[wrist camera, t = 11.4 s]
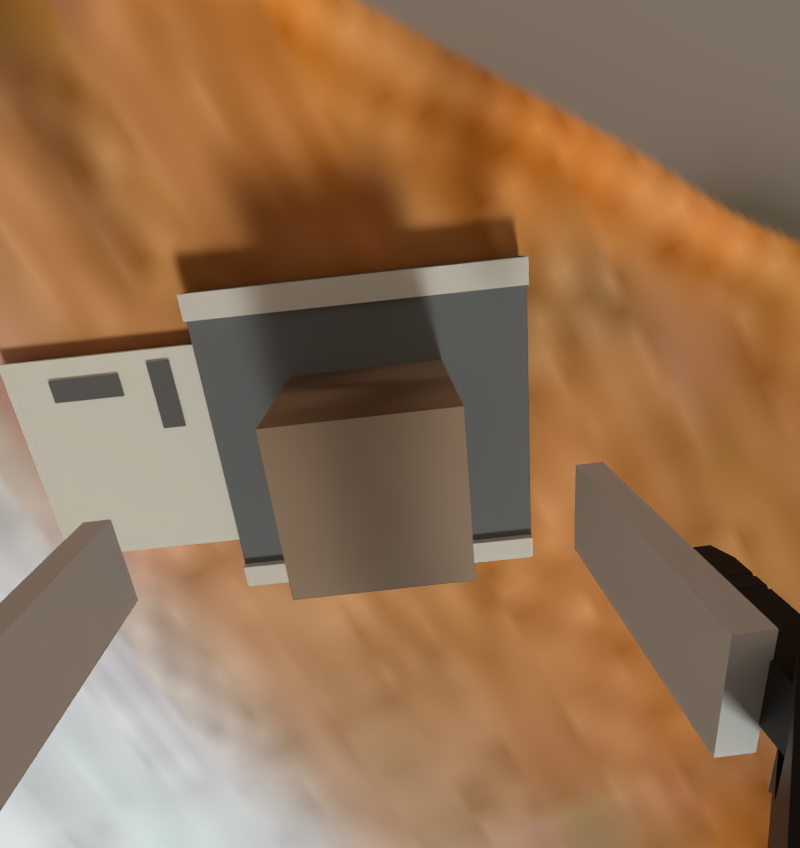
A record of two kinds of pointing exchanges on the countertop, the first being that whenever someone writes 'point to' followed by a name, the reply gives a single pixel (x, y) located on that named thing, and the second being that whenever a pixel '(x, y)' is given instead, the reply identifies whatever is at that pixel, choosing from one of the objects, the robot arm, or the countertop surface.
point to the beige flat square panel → (125, 444)
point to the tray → (364, 348)
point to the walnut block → (369, 480)
